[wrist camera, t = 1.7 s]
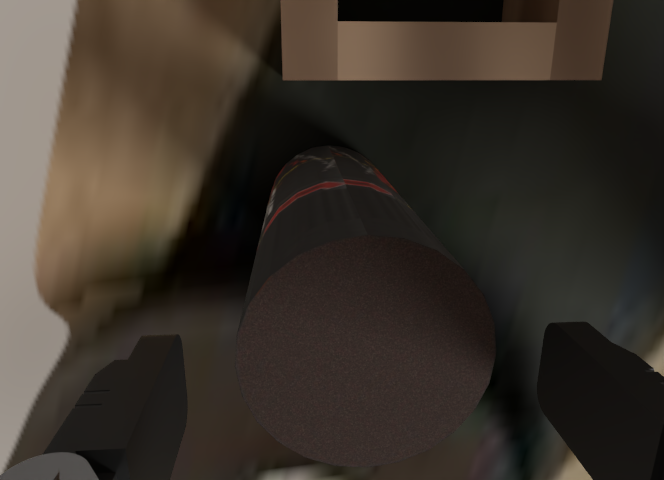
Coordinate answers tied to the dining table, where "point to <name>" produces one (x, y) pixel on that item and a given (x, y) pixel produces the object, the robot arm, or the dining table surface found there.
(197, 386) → the dining table surface
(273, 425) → the deodorant
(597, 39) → the socket block
